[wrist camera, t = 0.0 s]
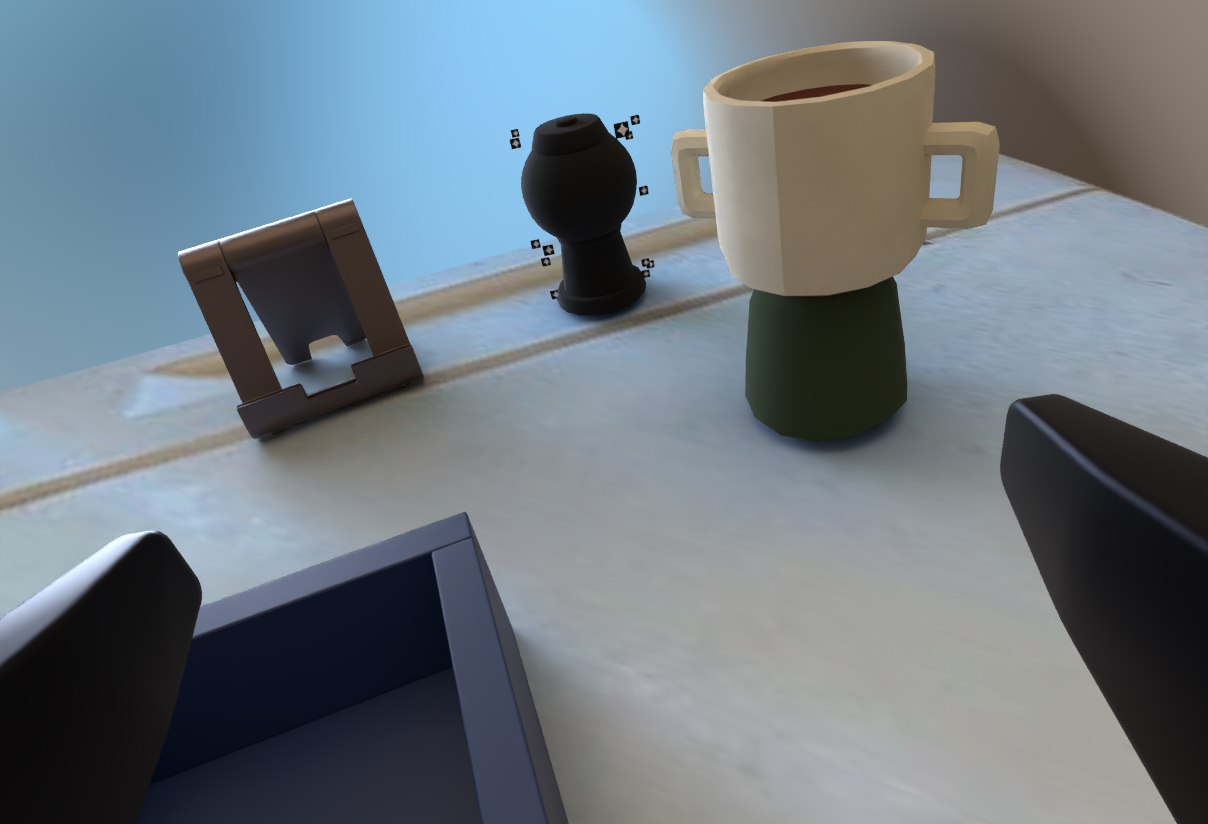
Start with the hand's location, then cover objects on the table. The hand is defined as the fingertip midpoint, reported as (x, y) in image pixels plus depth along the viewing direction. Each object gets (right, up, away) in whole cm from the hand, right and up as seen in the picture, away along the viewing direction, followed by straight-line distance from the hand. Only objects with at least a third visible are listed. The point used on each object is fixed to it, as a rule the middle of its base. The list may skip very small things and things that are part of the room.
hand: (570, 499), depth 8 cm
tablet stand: (-14, +2, +33) cm, 36 cm away
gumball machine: (+1, +7, +35) cm, 36 cm away
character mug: (+9, +1, +23) cm, 25 cm away
